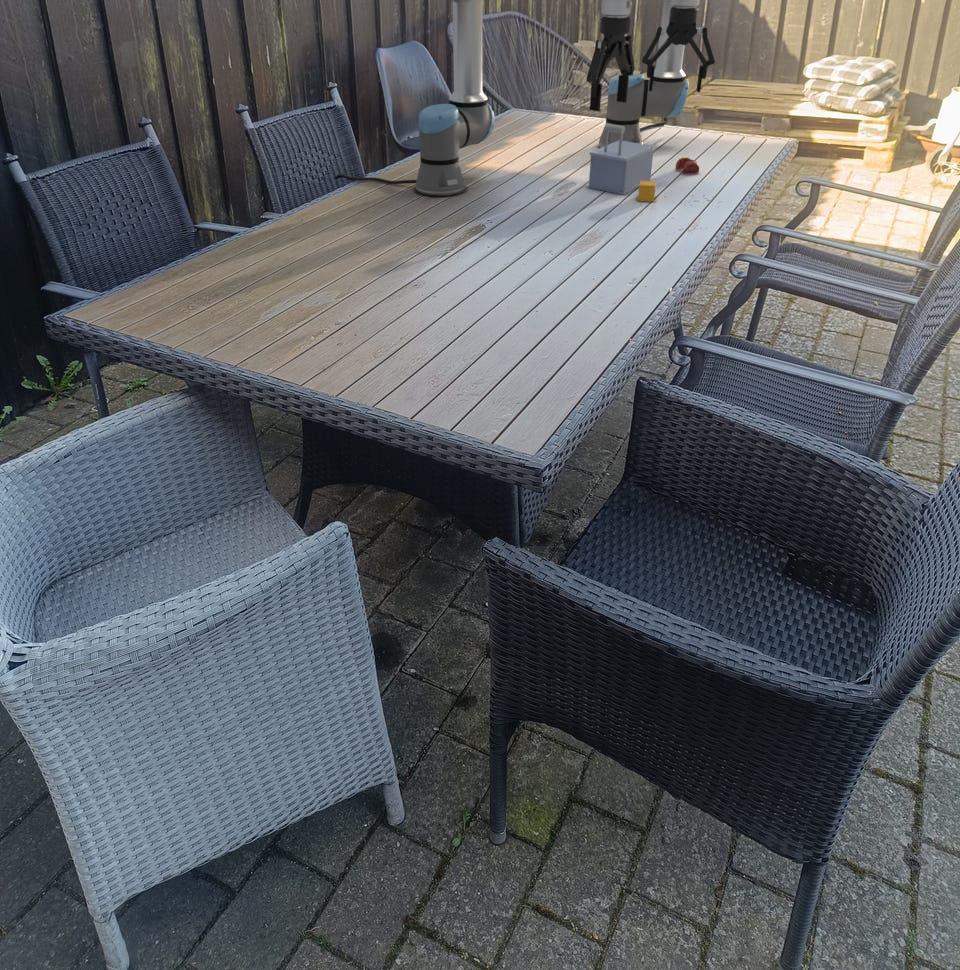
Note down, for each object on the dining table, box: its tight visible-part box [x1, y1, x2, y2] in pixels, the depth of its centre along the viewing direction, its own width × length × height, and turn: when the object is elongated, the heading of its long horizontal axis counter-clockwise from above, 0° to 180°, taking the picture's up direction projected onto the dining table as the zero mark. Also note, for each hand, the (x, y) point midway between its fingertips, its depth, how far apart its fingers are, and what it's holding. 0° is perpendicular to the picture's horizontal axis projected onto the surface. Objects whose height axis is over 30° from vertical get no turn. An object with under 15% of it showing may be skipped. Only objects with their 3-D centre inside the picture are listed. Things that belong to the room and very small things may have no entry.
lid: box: [589, 123, 655, 161], centre depth 254 cm, size 18×12×9 cm
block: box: [637, 180, 657, 203], centre depth 250 cm, size 5×5×5 cm
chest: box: [588, 148, 655, 195], centre depth 260 cm, size 17×12×10 cm
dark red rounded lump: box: [675, 156, 700, 175], centre depth 273 cm, size 6×4×8 cm
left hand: (608, 106), depth 226 cm, fingers open, 13 cm apart
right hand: (674, 90), depth 243 cm, fingers open, 13 cm apart
